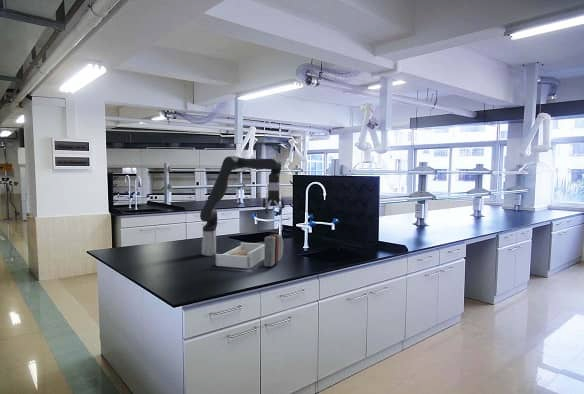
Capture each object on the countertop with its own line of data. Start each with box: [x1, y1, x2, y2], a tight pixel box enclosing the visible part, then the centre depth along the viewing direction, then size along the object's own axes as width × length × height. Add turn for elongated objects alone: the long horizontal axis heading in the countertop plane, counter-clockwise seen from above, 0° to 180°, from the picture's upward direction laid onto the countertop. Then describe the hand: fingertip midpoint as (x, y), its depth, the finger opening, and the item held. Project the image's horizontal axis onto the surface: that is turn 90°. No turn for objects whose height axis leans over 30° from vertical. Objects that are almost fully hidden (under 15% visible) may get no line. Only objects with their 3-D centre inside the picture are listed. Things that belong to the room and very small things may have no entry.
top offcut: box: [229, 250, 251, 256], centre depth 248 cm, size 6×15×2 cm, turn 148°
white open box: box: [215, 242, 265, 269], centre depth 246 cm, size 22×40×10 cm, turn 165°
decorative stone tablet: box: [263, 234, 284, 267], centre depth 240 cm, size 19×6×30 cm
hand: (273, 214), depth 239 cm, fingers open, 8 cm apart
